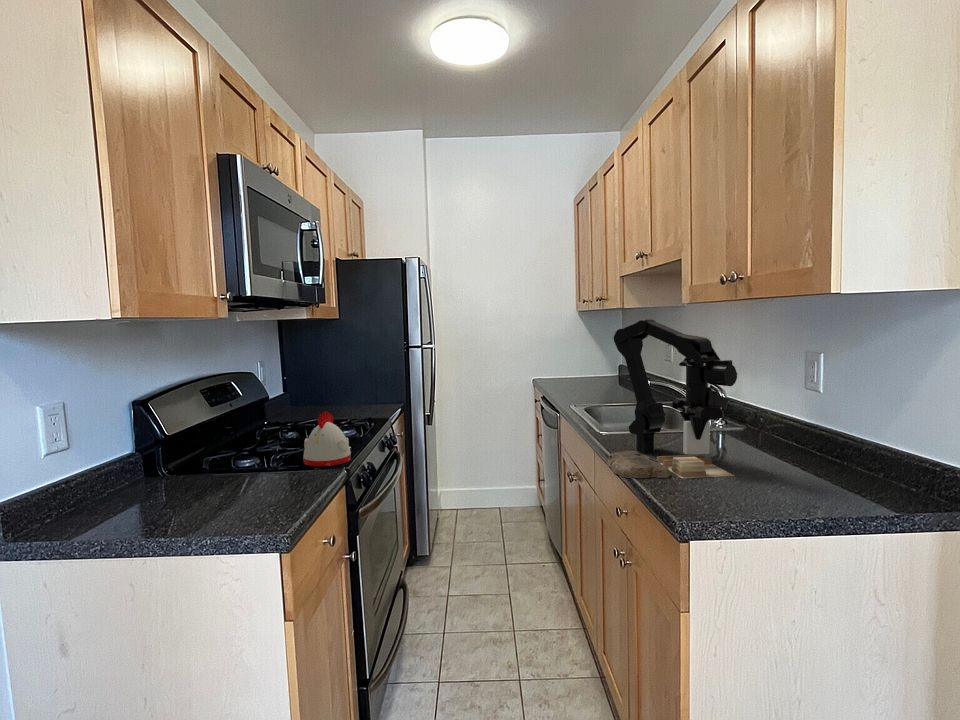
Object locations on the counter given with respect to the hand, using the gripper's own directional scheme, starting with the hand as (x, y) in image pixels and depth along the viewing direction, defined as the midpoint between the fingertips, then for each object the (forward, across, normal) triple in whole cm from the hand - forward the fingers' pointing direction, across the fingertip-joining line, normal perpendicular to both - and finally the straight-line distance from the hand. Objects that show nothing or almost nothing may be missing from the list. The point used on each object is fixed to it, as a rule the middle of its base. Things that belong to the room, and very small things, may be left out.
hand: (696, 438), depth 152 cm
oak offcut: (+6, -10, +7) cm, 13 cm away
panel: (+4, 0, 0) cm, 4 cm away
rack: (+8, -5, +4) cm, 10 cm away
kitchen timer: (+8, +22, +106) cm, 108 cm away
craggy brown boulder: (+8, -3, +19) cm, 21 cm away
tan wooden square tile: (+7, -10, +7) cm, 14 cm away
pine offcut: (+4, -10, +7) cm, 13 cm away
